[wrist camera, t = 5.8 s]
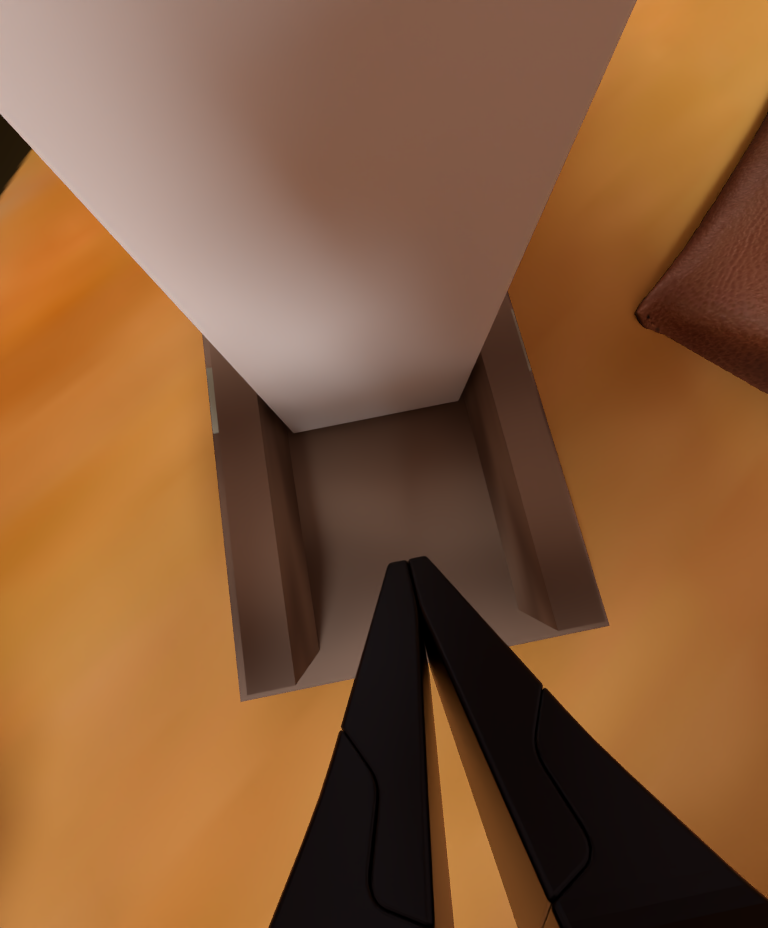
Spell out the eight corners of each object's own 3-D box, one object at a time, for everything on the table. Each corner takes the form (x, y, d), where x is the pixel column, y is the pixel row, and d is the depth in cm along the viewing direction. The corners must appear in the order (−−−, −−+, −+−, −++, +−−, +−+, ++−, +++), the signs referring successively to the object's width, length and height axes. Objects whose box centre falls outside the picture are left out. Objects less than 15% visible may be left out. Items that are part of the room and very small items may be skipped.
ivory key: (460, 401, 13) (1630, -2139, 1) (292, 434, 13) (-1770, -1756, 1) (429, 279, 14) (674, -1614, 2) (273, 309, 14) (-633, -1437, 2)
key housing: (586, 616, 13) (712, 665, 8) (257, 684, 13) (165, 779, 8) (474, 235, 17) (511, 92, 12) (212, 285, 17) (126, 164, 11)
